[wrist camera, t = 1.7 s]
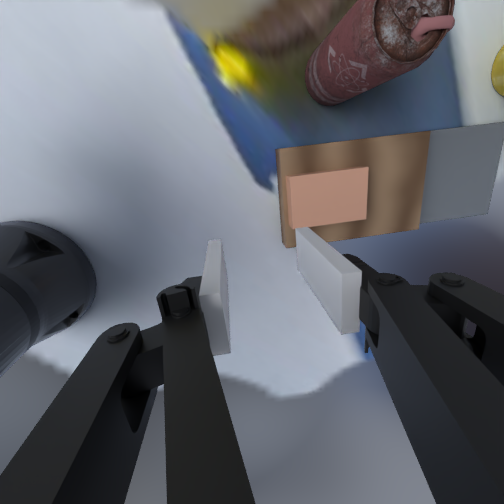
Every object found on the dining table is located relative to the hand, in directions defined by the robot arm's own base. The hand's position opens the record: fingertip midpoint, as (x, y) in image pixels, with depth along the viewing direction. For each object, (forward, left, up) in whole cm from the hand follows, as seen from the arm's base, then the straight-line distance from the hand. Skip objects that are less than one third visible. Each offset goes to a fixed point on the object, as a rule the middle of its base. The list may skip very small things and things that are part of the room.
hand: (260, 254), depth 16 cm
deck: (+14, 0, -19) cm, 23 cm away
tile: (+10, 0, -16) cm, 19 cm away
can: (+12, +13, -19) cm, 26 cm away
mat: (+29, 0, -19) cm, 35 cm away
